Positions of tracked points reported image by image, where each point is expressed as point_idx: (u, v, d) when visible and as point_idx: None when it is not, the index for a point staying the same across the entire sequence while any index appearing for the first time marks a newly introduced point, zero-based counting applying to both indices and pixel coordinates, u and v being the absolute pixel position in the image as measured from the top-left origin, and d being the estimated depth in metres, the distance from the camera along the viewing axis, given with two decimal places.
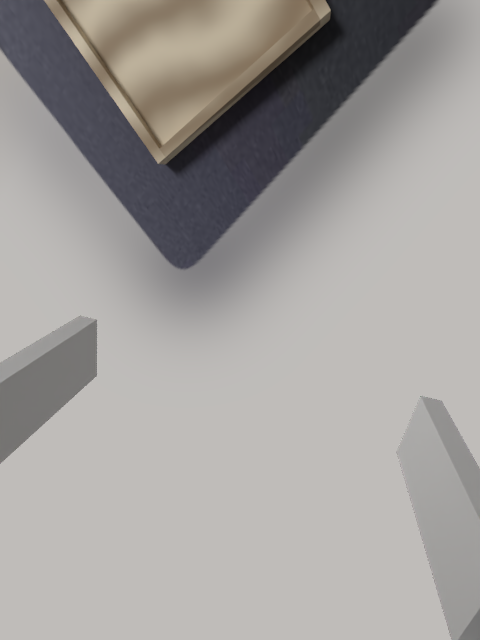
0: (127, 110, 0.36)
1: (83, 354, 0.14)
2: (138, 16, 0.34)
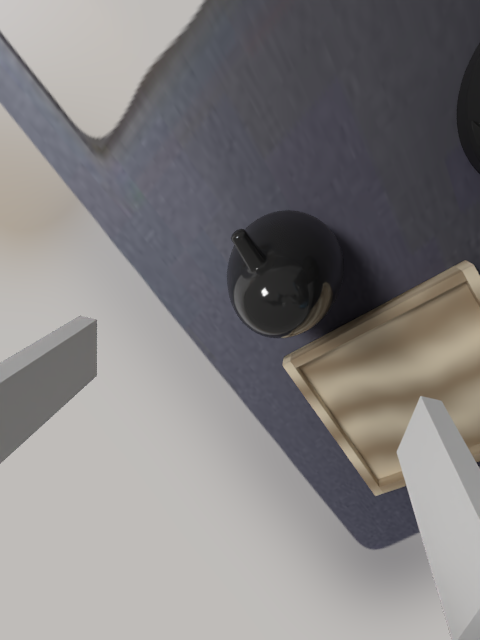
0: (355, 460, 0.42)
1: (83, 354, 0.14)
2: (376, 397, 0.40)
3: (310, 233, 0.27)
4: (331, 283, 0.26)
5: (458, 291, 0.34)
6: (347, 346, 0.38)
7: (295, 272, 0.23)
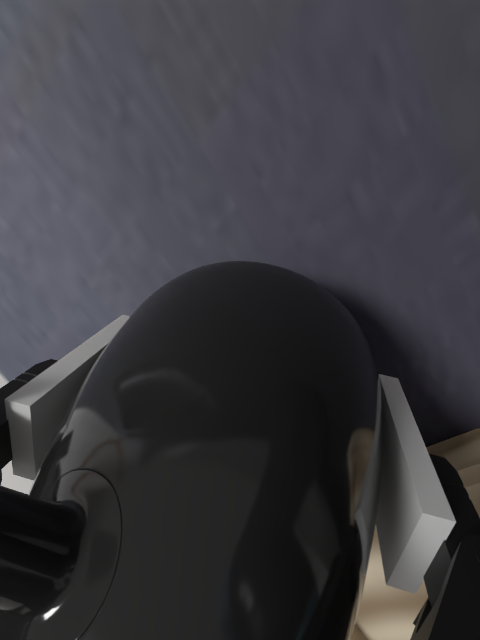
0: None
1: None
2: None
3: (291, 367, 0.08)
4: (364, 561, 0.07)
5: None
6: None
7: None
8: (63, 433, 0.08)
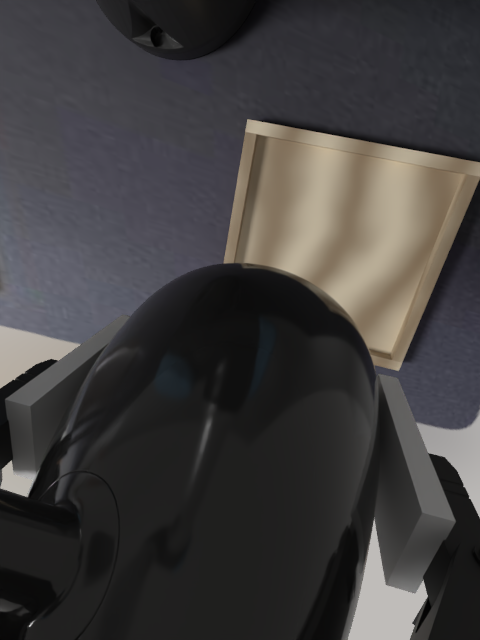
0: None
1: None
2: None
3: (289, 369, 0.08)
4: (361, 562, 0.07)
5: (268, 147, 0.33)
6: None
7: None
8: (61, 435, 0.08)
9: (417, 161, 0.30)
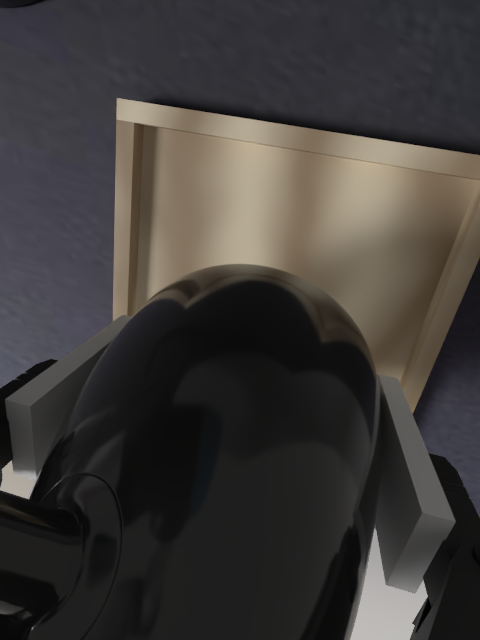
0: None
1: None
2: None
3: (291, 371, 0.08)
4: (362, 564, 0.07)
5: (161, 145, 0.21)
6: None
7: None
8: (63, 437, 0.08)
9: (400, 160, 0.18)
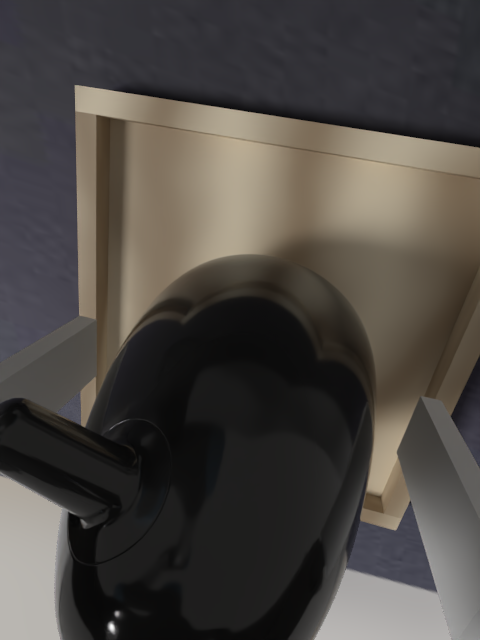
0: None
1: (83, 354, 0.14)
2: None
3: (299, 342, 0.10)
4: (359, 500, 0.09)
5: (132, 142, 0.17)
6: None
7: (234, 563, 0.06)
8: (108, 396, 0.09)
9: (420, 161, 0.14)
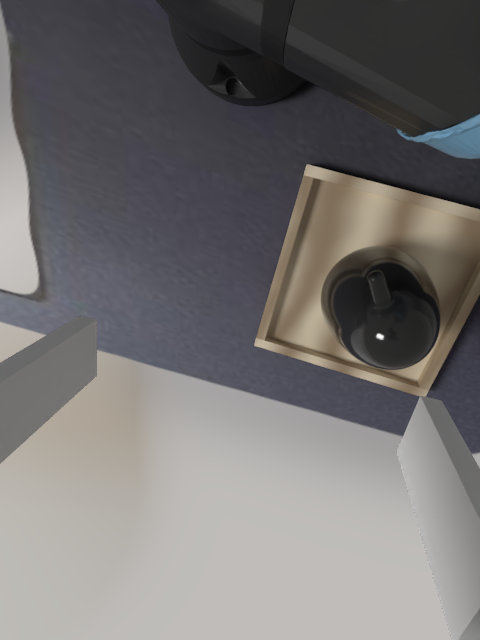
0: (377, 378, 0.41)
1: (83, 354, 0.14)
2: None
3: (421, 274, 0.29)
4: None
5: (321, 189, 0.36)
6: (287, 294, 0.41)
7: (422, 314, 0.25)
8: (362, 285, 0.28)
9: (458, 213, 0.34)
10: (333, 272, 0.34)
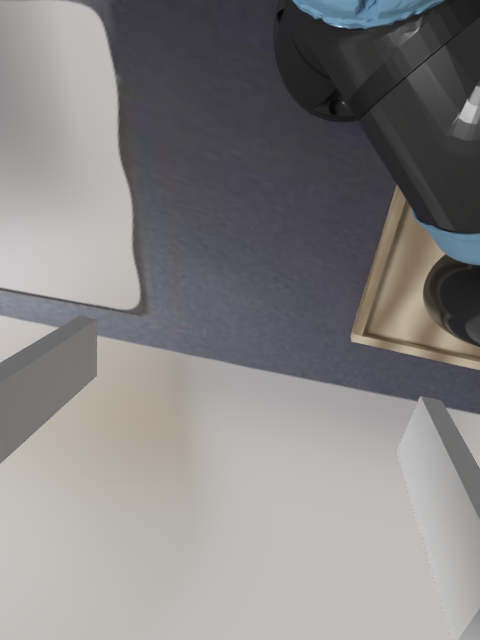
0: (473, 364, 0.44)
1: (83, 354, 0.14)
2: None
3: None
4: None
5: None
6: (382, 291, 0.44)
7: None
8: None
9: None
10: (439, 268, 0.37)
